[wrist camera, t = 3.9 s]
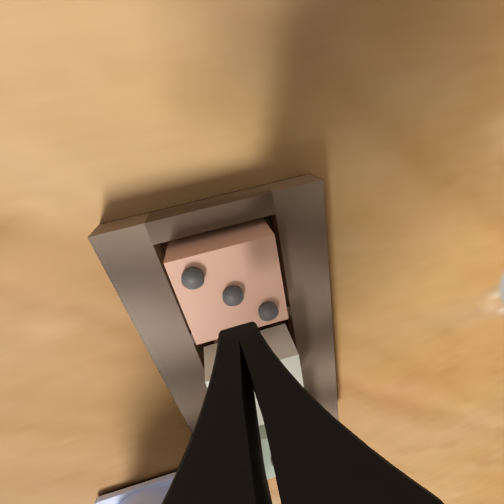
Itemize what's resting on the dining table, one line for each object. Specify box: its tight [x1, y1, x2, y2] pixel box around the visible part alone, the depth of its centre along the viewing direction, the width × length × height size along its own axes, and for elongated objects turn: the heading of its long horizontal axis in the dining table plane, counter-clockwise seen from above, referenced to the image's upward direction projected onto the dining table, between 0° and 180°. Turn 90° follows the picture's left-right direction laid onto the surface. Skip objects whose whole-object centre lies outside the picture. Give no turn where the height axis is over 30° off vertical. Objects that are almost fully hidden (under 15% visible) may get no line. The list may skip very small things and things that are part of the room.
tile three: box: [163, 217, 289, 345], centre depth 14 cm, size 5×5×3 cm
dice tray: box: [88, 174, 339, 433], centre depth 18 cm, size 21×11×2 cm, turn 11°
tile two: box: [204, 324, 304, 426], centre depth 16 cm, size 5×5×3 cm
